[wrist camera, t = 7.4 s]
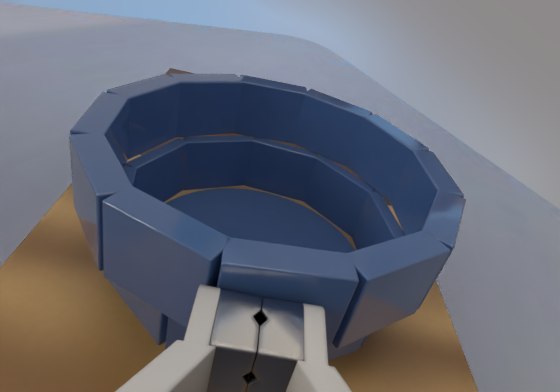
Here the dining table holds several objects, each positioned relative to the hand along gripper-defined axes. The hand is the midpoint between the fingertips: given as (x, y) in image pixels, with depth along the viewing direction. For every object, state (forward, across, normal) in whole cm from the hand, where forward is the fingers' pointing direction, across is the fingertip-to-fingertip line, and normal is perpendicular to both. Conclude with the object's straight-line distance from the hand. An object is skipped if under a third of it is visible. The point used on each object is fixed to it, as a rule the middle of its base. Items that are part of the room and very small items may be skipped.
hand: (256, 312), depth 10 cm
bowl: (+7, 0, +5) cm, 8 cm away
